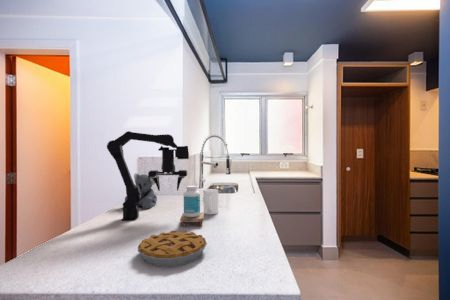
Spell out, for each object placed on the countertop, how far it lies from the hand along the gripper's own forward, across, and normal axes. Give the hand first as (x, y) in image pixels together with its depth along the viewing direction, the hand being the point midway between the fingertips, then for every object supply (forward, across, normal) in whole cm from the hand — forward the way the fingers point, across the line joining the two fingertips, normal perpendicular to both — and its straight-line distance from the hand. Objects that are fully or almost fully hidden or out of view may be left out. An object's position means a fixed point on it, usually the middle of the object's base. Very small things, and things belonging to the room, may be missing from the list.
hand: (168, 190), depth 131 cm
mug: (+13, -21, -4) cm, 25 cm away
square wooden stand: (+13, -13, +13) cm, 23 cm away
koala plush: (+13, +19, -26) cm, 35 cm away
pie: (+14, -9, +46) cm, 49 cm away
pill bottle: (+10, -13, +13) cm, 21 cm away
